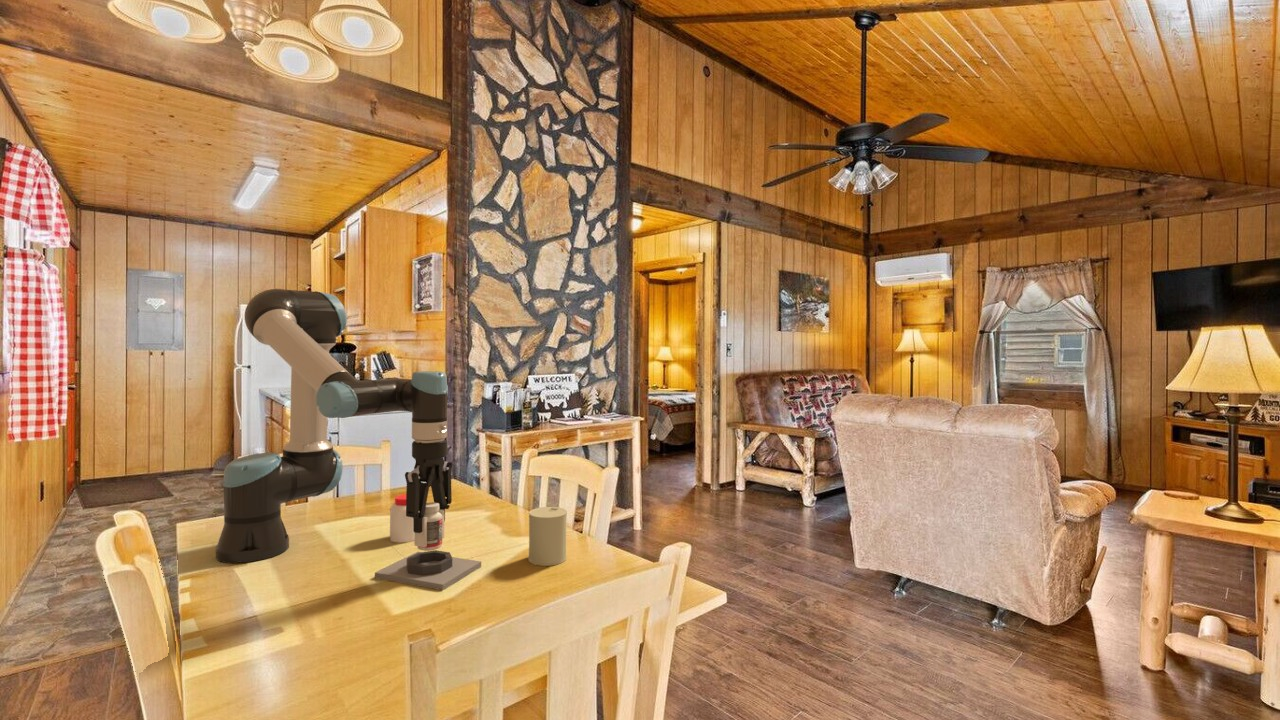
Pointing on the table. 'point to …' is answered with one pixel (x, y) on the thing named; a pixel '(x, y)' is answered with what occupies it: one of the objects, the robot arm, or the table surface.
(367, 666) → the table surface
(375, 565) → the table surface
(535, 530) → the can
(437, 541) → the pill bottle
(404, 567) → the collar plate
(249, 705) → the table surface
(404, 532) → the pill bottle
